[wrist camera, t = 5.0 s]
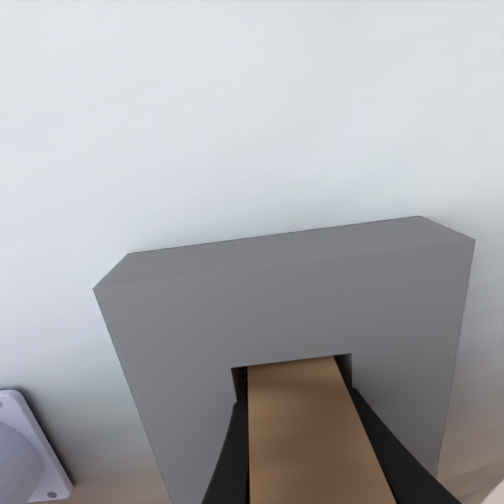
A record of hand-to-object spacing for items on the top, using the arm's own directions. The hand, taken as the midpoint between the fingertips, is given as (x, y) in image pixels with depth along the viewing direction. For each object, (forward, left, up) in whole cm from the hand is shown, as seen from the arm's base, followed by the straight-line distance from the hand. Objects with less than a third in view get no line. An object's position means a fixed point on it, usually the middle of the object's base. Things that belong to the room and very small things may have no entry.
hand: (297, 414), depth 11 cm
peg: (0, 0, -3) cm, 3 cm away
